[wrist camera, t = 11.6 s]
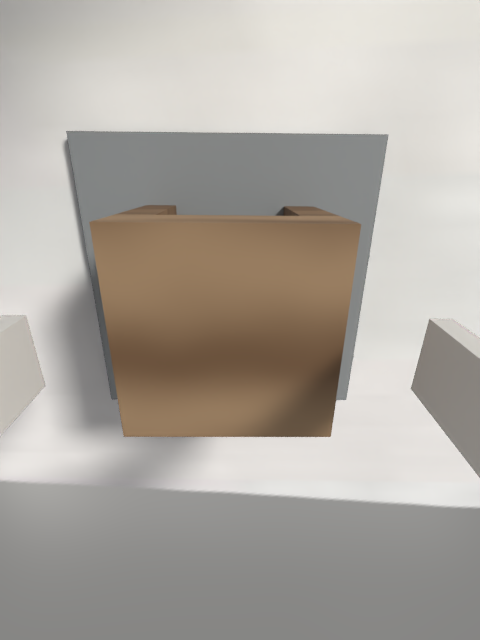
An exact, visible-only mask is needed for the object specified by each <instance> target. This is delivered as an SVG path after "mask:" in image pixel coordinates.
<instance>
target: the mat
mask: <svg viewBox="0 0 480 640" xmlns="http://www.w3.org/2000/svg"><path fill="white" fill-rule="evenodd" d="M66 132H67V138H68V144H69V150H70V156H71V162H72V168H73V174H74V179H75V185H76V191H77V197H78V203H79V209H80V215H81V221H82V227H83V232H84V238H85V244H86V250H87V256H88V262H89V268H90V274H91V280H92V286H93V291H94V297H95V303H96V309H97V315H98V321H99V327H100V333H101V339H102V344H103V350H104V356H105V362H106V368H107V374H108V380H109V386H110V392H111V398H112V399H118V397H117V391H116V385H115V379H114V373H113V366H112V360H111V354H110V348H109V342H108V335H107V329H106V323H105V317H104V311H103V304H102V298H101V292H100V286H99V279H98V273H97V267H96V261H95V255H94V248H93V242H92V236H91V230H90V224H89V222H91V221H94V220H97V219H101V218H104V217H108V216H111V215H114V214H118V213H121V212H125V211H128V210H131V209H135V208H138V207H142V206H145V205H176V212H177V215H252V216H284V206H310V207H316V208H319V209H322V210H325V211H327V212H330V213H333V214H335V215H338V216H341V217H344V218H346V219H349V220H352V221H354V222H357V223H360V224H361V230H360V237H359V244H358V251H357V258H356V265H355V272H354V278H353V285H352V292H351V299H350V306H349V313H348V320H347V327H346V334H345V341H344V347H343V354H342V361H341V368H340V375H339V382H338V389H337V396H336V400H346V397H347V391H348V385H349V379H350V372H351V366H352V360H353V354H354V347H355V341H356V335H357V328H358V322H359V316H360V310H361V303H362V297H363V291H364V284H365V278H366V272H367V266H368V259H369V253H370V247H371V241H372V234H373V228H374V222H375V215H376V209H377V203H378V197H379V190H380V184H381V178H382V171H383V165H384V159H385V153H386V146H387V140H388V135H375V134H282V133H188V132H94V131H66Z"/></svg>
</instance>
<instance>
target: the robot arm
mask: <svg viewBox="0 0 480 640" xmlns="http://www.w3.org/2000/svg"><path fill="white" fill-rule="evenodd" d="M44 387H45V382H44V378H43V375H42V371H41V368H40V364H39V361H38V357H37V353H36V350H35V346H34V343H33V339H32V335H31V332H30V328H29V325H28V321H27V317H26V315H2V316H0V436H1V435H2V434H3V433H4V432H5V430H6V429H7V428H8V427H9V426H10V425H11V424H12V423H13V422H14V420H15V419H16V418H17V417H18V416H19V415H20V414H21V413H22V412H23V410H24V409H25V408H26V407H27V406H28V405H29V404H30V403H31V401H32V400H33V399H34V398H35V397H36V396H37V395H38V394H39V393H40V391H41V390H42V389H43V388H44ZM411 389H412V391H413V392H414V393H415V395H416V396H417V397H418V398H419V400H420V401H421V402H422V404H423V405H424V406H425V408H426V409H427V410H428V411H429V413H430V414H431V415H432V417H433V418H434V419H435V420H436V422H437V423H438V424H439V426H440V427H441V428H442V430H443V431H444V432H445V433H446V435H447V436H448V437H449V439H450V440H451V441H452V442H453V444H454V445H455V446H456V448H457V449H458V450H459V452H460V453H461V454H462V455H463V457H464V458H465V459H466V461H467V462H468V463H469V464H470V466H471V467H472V468H473V470H474V471H475V472H476V474H477V475H478V476H479V477H480V338H479V337H478V336H476V335H475V334H473V333H472V332H471V331H469V330H468V329H466V328H465V327H464V326H462V325H461V324H459V323H458V322H457V321H455V320H454V319H429V323H428V326H427V330H426V334H425V338H424V341H423V345H422V349H421V353H420V357H419V360H418V364H417V368H416V372H415V375H414V379H413V383H412V387H411Z"/></svg>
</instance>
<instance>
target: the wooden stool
mask: <svg viewBox="0 0 480 640" xmlns="http://www.w3.org/2000/svg"><path fill="white" fill-rule="evenodd" d="M89 224H90V230H91V236H92V242H93V248H94V255H95V261H96V267H97V273H98V279H99V286H100V292H101V298H102V304H103V311H104V317H105V323H106V329H107V335H108V342H109V348H110V354H111V360H112V366H113V373H114V379H115V385H116V391H117V397H118V404H119V410H120V416H121V422H122V428H123V435H124V437H331V430H332V423H333V416H334V410H335V403H336V396H337V389H338V382H339V375H340V368H341V361H342V354H343V347H344V341H345V334H346V327H347V320H348V313H349V306H350V299H351V292H352V285H353V278H354V272H355V265H356V258H357V251H358V244H359V237H360V230H361V224H360V223H357V222H354V221H352V220H349V219H346V218H344V217H341V216H338V215H335V214H333V213H330V212H327V211H325V210H322V209H319V208H316V207H310V206H284V216H252V215H177V212H176V205H145V206H142V207H138V208H135V209H131V210H128V211H125V212H121V213H118V214H114V215H111V216H108V217H104V218H101V219H97V220H94V221H91V222H89Z"/></svg>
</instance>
